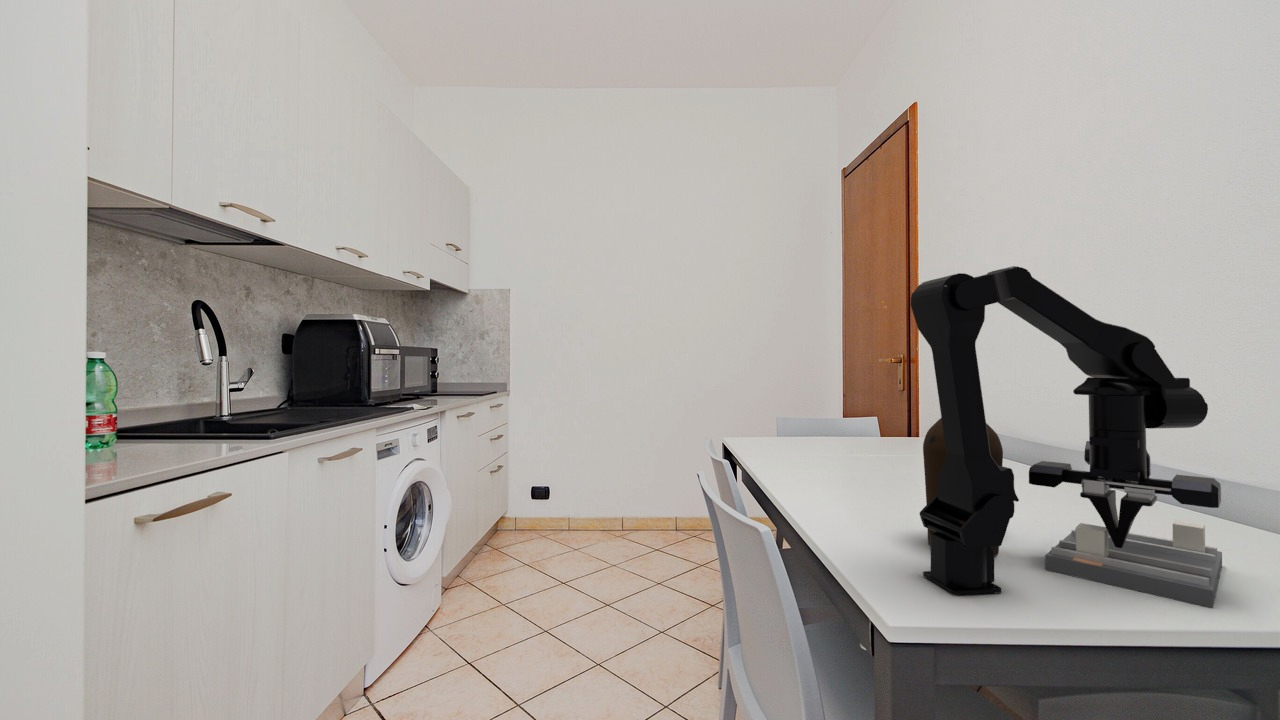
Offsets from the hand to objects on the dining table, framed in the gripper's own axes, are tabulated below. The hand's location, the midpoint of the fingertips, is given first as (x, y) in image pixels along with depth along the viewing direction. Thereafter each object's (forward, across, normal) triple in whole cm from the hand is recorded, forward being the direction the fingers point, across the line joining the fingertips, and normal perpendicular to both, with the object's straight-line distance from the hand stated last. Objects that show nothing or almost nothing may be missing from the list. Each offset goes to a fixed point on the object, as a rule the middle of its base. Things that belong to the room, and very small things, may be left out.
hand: (1119, 547), depth 73 cm
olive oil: (+4, +18, +3) cm, 19 cm away
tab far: (+2, -6, -12) cm, 13 cm away
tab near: (+2, +3, 0) cm, 3 cm away
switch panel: (+4, -1, -6) cm, 7 cm away
